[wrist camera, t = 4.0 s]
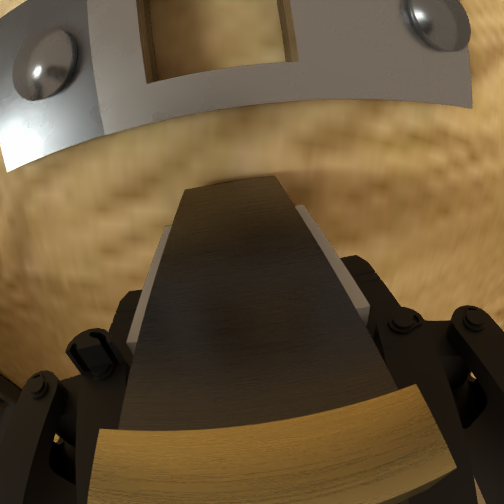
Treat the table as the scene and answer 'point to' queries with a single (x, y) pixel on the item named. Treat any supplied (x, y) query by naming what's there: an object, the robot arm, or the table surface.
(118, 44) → the plate
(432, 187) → the table surface
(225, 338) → the link pin
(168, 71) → the table surface
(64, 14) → the plate
